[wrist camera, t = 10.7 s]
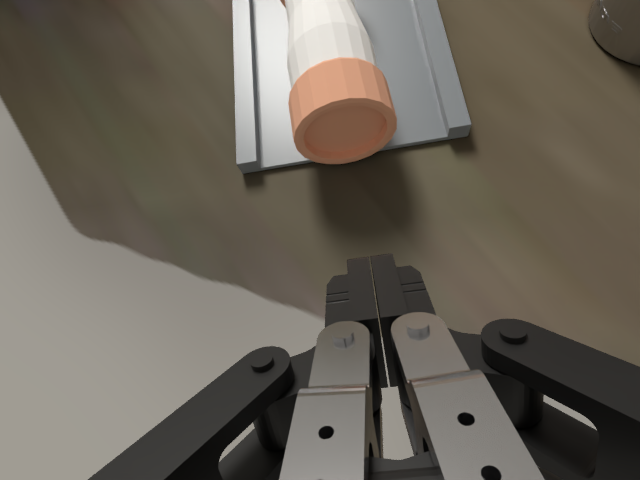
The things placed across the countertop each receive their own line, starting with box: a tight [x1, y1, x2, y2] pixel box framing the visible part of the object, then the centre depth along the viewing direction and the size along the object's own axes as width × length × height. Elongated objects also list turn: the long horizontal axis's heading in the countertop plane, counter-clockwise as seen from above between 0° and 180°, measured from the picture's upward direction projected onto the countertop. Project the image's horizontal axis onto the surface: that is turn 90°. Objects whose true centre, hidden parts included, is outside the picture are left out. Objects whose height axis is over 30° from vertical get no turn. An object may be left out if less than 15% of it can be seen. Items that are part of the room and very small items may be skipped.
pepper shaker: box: [280, 0, 397, 164], centre depth 32 cm, size 7×7×19 cm
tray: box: [233, 0, 471, 174], centre depth 36 cm, size 18×22×2 cm
